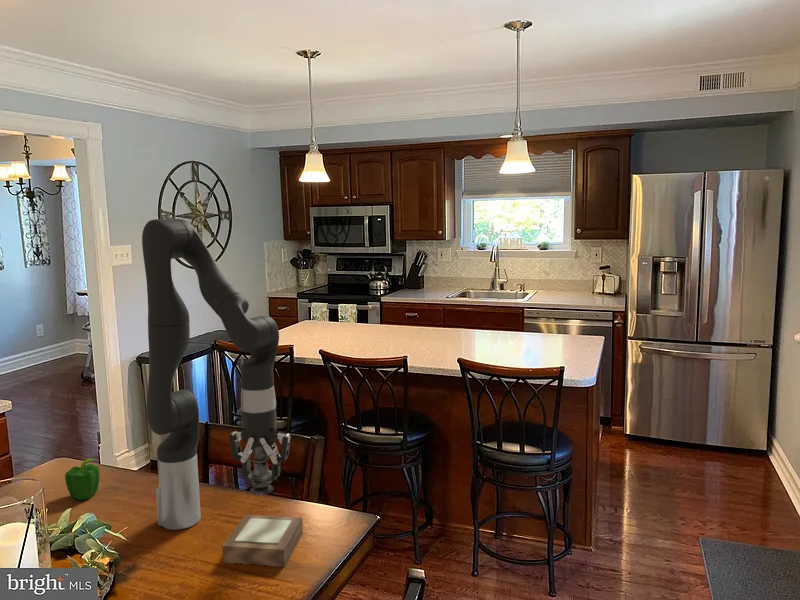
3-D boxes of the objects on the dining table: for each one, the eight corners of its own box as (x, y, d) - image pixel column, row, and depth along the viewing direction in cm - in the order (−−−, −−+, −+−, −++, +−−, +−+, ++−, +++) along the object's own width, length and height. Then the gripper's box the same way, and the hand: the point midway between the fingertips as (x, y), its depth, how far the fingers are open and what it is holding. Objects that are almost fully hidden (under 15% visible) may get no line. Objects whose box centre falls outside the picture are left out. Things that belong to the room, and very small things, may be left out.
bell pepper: (67, 506, 161) (64, 470, 159) (66, 493, 168) (63, 459, 166) (102, 498, 165) (99, 463, 163) (100, 486, 172) (97, 453, 171)
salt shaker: (268, 496, 135) (266, 445, 133) (244, 494, 136) (241, 443, 134) (279, 485, 141) (277, 435, 139) (255, 483, 142) (253, 433, 140)
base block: (223, 562, 134) (222, 544, 134) (246, 530, 148) (245, 513, 147) (284, 566, 132) (284, 548, 132) (302, 533, 146) (302, 516, 146)
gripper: (220, 410, 133) (224, 483, 135) (284, 412, 131) (287, 486, 133) (234, 399, 140) (237, 469, 142) (294, 401, 138) (297, 471, 141)
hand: (261, 477), depth 138 cm, fingers closed on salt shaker, 6 cm apart
